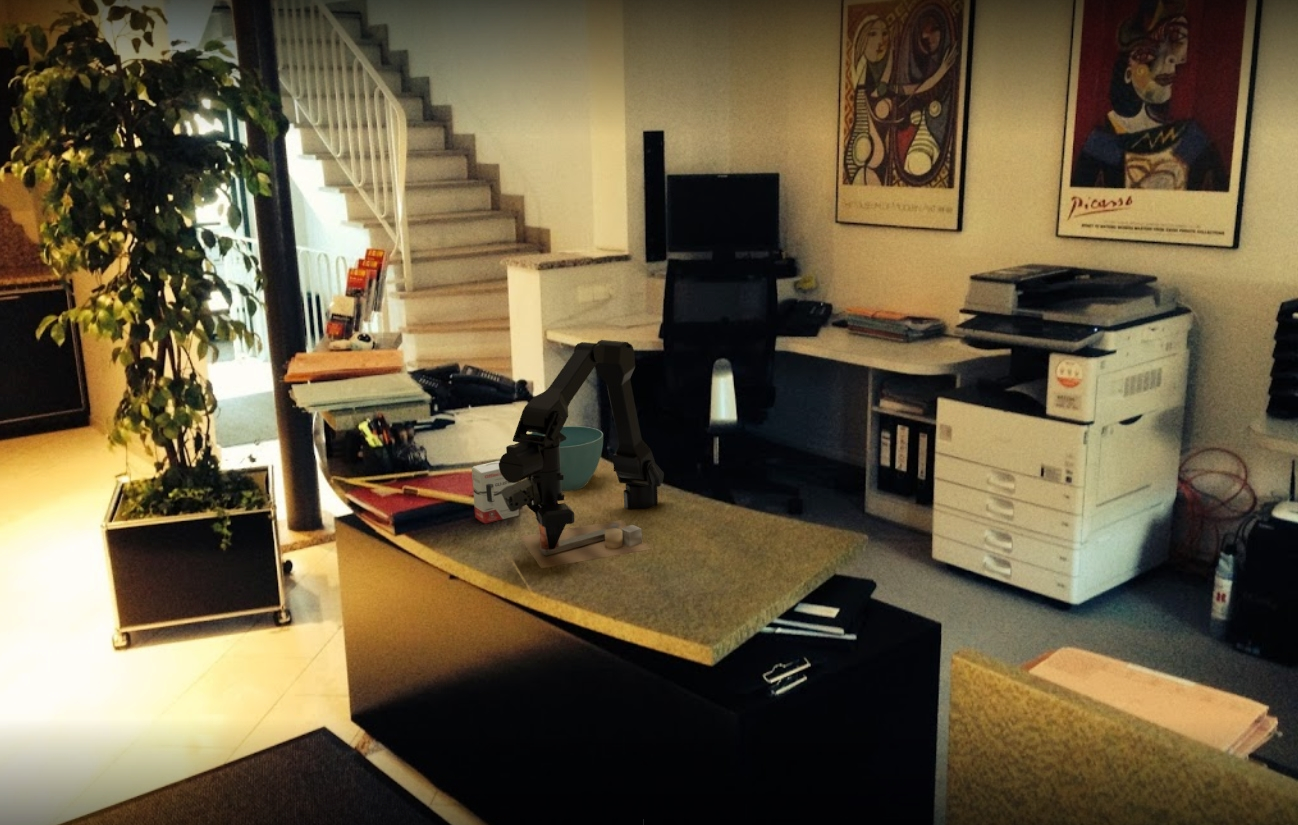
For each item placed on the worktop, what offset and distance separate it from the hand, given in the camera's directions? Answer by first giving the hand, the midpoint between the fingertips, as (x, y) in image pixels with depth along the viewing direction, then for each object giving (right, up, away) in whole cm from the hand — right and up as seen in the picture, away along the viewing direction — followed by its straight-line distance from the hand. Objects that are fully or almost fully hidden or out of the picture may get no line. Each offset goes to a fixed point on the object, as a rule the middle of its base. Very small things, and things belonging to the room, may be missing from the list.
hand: (548, 543), depth 216 cm
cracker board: (+6, -2, +6) cm, 9 cm away
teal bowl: (0, +8, +45) cm, 45 cm away
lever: (+5, -1, +4) cm, 7 cm away
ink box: (-14, +3, +26) cm, 30 cm away
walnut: (+13, -1, +4) cm, 13 cm away
